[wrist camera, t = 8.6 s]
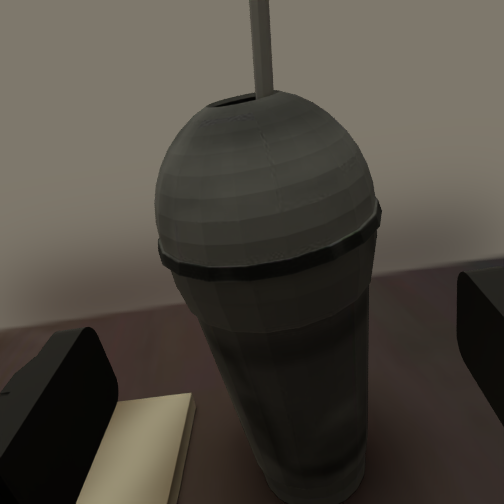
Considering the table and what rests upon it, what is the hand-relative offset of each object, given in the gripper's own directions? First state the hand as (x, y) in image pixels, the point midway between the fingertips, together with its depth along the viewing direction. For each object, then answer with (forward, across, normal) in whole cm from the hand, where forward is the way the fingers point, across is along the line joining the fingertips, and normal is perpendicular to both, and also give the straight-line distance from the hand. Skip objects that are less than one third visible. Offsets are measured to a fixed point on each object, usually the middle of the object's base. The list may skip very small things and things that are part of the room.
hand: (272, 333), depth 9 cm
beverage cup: (+5, 0, +11) cm, 12 cm away
